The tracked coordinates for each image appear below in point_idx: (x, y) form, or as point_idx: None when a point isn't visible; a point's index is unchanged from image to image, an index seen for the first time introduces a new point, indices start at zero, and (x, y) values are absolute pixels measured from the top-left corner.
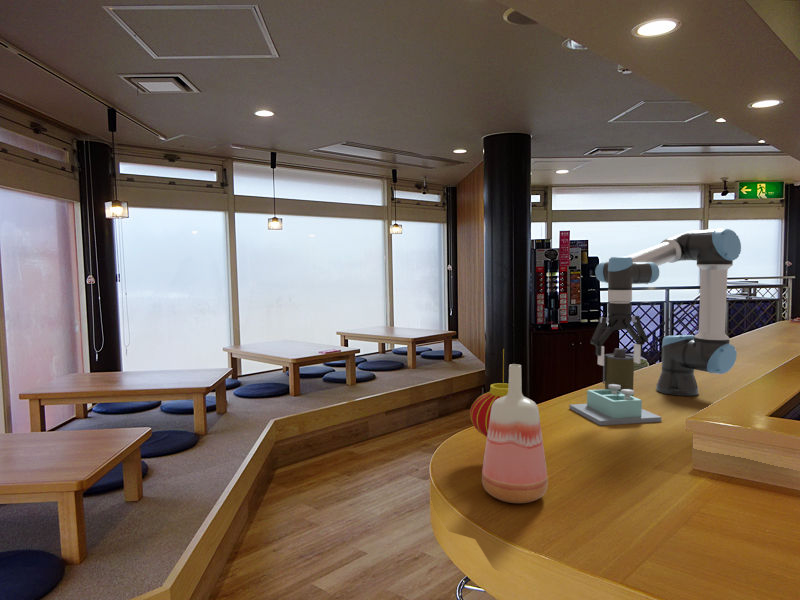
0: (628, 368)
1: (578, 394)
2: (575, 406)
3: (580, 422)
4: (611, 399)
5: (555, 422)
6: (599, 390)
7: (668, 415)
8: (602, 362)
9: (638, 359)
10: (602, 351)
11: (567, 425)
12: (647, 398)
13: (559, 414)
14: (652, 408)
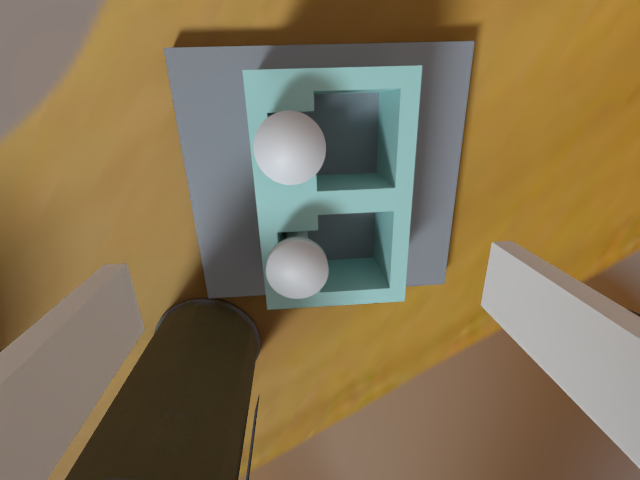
0: (133, 424)
1: (307, 423)
2: (438, 258)
3: (510, 102)
4: (402, 111)
5: (599, 119)
6: (352, 290)
7: (93, 139)
8: (525, 253)
9: (105, 283)
10: (634, 318)
11: (584, 71)
12: None
13: (516, 215)
14: (118, 243)
